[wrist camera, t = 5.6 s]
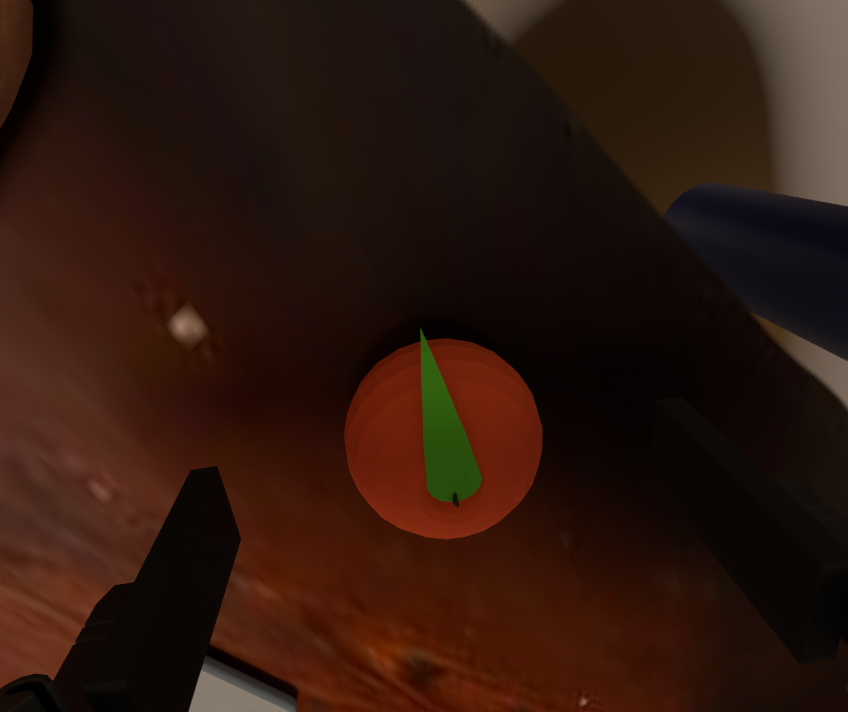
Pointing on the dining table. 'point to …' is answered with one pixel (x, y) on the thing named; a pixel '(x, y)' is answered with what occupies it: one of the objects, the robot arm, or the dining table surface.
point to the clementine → (443, 438)
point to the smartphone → (236, 692)
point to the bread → (14, 49)
